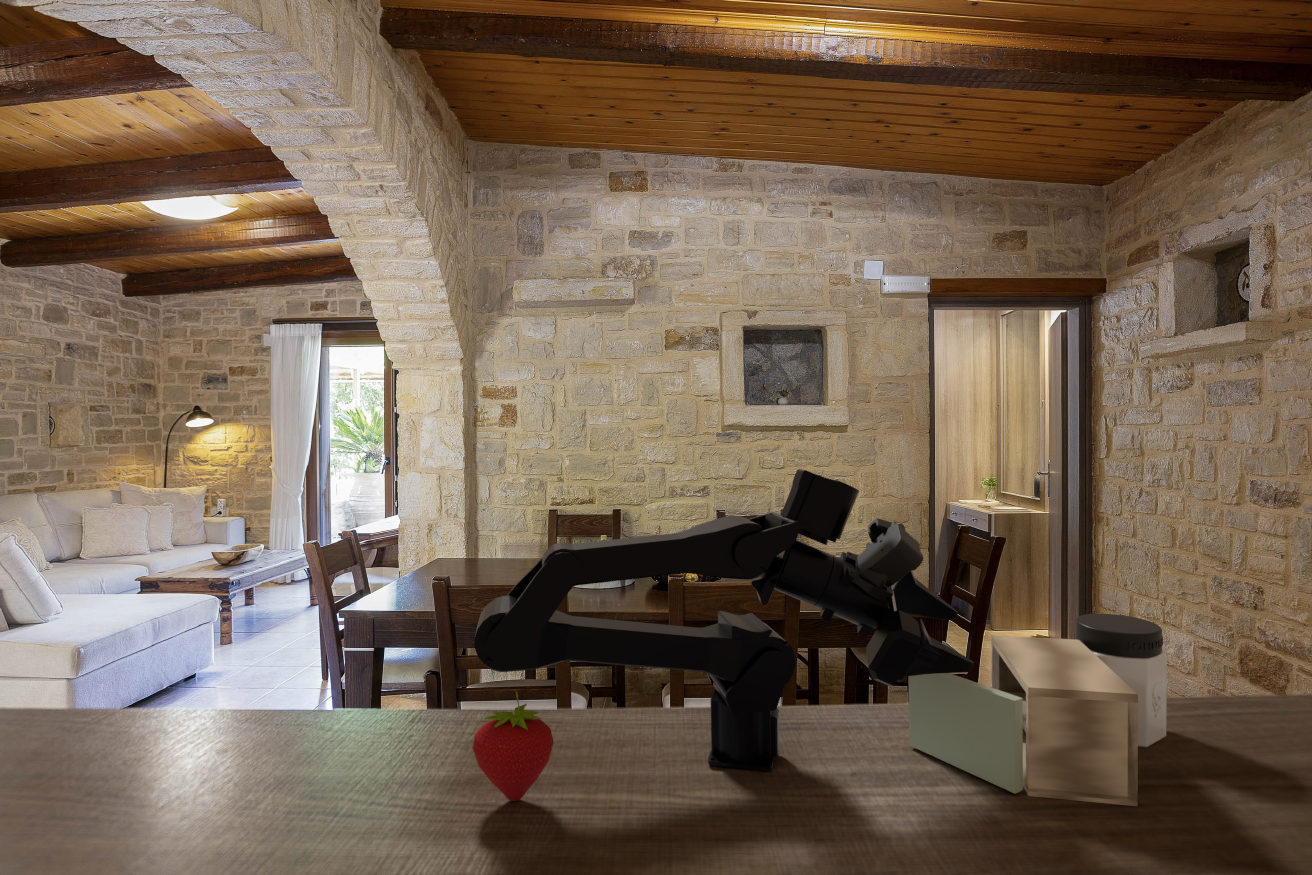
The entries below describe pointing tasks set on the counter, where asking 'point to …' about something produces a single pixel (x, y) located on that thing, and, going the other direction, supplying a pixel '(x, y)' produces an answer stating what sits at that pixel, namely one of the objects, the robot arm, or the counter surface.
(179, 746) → the counter surface
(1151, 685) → the jar
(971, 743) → the door
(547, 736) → the strawberry
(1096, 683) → the cabinet
